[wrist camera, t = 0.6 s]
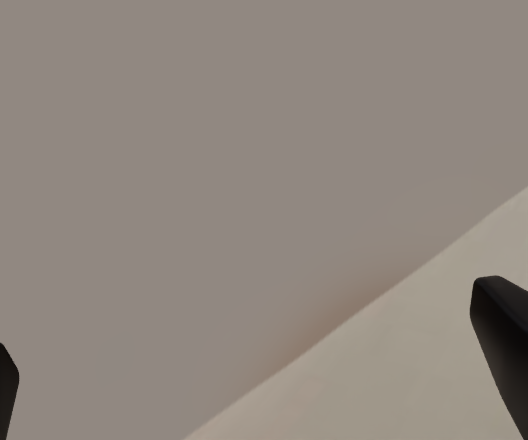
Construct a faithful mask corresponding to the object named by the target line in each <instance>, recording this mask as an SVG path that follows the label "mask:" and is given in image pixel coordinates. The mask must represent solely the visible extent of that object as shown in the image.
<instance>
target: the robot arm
mask: <svg viewBox="0 0 528 440" xmlns="http://www.w3.org/2000/svg"><path fill="white" fill-rule="evenodd" d="M470 319H471V322H472V325H473V328H474V330H475V333H476V335H477V338H478V340H479V343H480V345H481V348H482V350H483V353H484V355H485V358H486V360H487V363H488V365H489V368H490V370H491V373H492V376H493V378H494V381H495V383H496V385H497V388H498V390H499V393H500V395H501V397H502V399H503V401H504V403H505V405H506V407H507V409H508V411H509V413H510V415H511V417H512V419H513V420H514V422H515V424H516V426H517V428H518V430H519V432H520V434H521V435H522V437H523V439H524V440H528V291H526V290H524V289H522V288H521V287H519V286H517V285H515V284H513V283H512V282H510V281H508V280H506V279H504V278H503V277H500V276H488V277H480V278H477V279H476V280H475V281H474V284H473V290H472V298H471V305H470ZM18 385H19V372H18V369H17V367H16V365H15V364H14V362H13V361H12V358H11V357H10V355H9V353H8V352H7V350H6V348H5V347H4V345H3V344H2V343H0V440H6V437H7V432H8V428H9V424H10V419H11V415H12V411H13V406H14V402H15V398H16V393H17V389H18Z"/></svg>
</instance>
